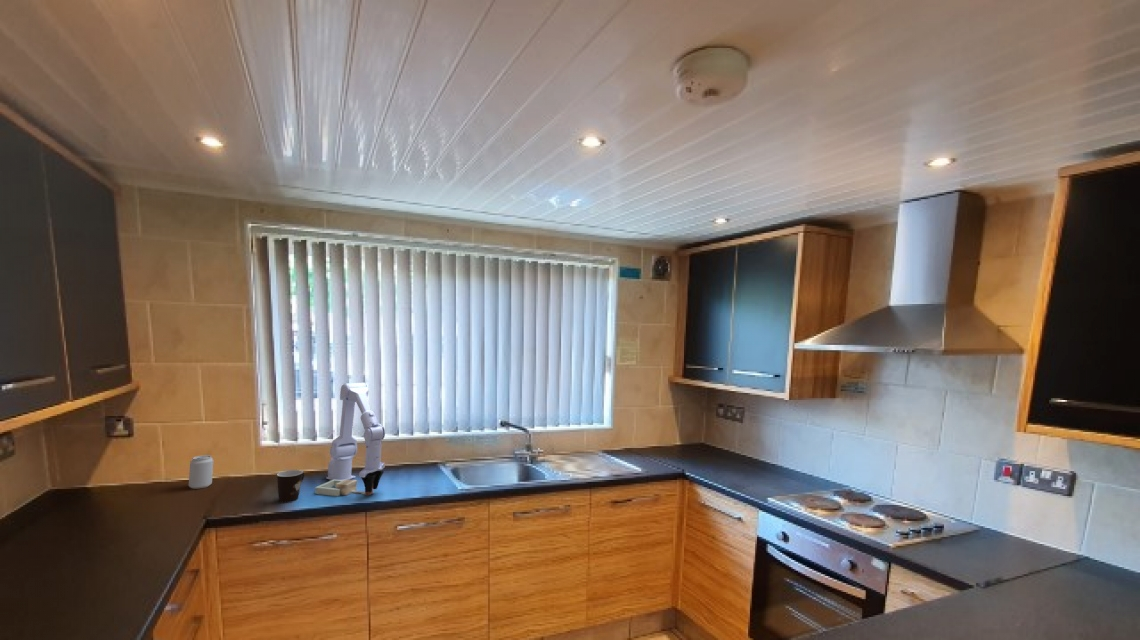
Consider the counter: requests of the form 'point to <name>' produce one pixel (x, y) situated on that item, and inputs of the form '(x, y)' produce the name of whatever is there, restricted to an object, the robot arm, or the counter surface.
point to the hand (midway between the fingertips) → (371, 490)
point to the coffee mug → (289, 485)
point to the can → (201, 472)
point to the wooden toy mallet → (350, 487)
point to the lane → (328, 488)
